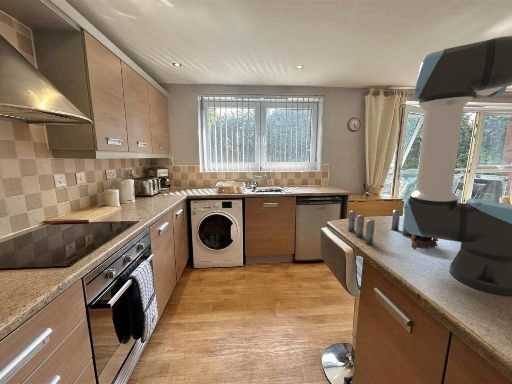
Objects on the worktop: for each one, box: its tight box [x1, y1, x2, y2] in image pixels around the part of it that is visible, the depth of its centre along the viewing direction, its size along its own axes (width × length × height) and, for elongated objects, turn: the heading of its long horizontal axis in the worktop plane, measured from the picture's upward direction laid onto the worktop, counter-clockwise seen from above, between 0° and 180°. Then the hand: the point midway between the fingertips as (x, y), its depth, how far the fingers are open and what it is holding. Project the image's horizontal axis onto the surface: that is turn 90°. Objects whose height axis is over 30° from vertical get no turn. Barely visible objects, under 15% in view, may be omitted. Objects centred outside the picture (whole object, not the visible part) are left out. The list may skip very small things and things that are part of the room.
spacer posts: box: [347, 209, 418, 246], centre depth 100 cm, size 19×25×10 cm
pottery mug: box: [408, 232, 439, 250], centre depth 88 cm, size 12×10×8 cm
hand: (430, 172), depth 104 cm, fingers closed
